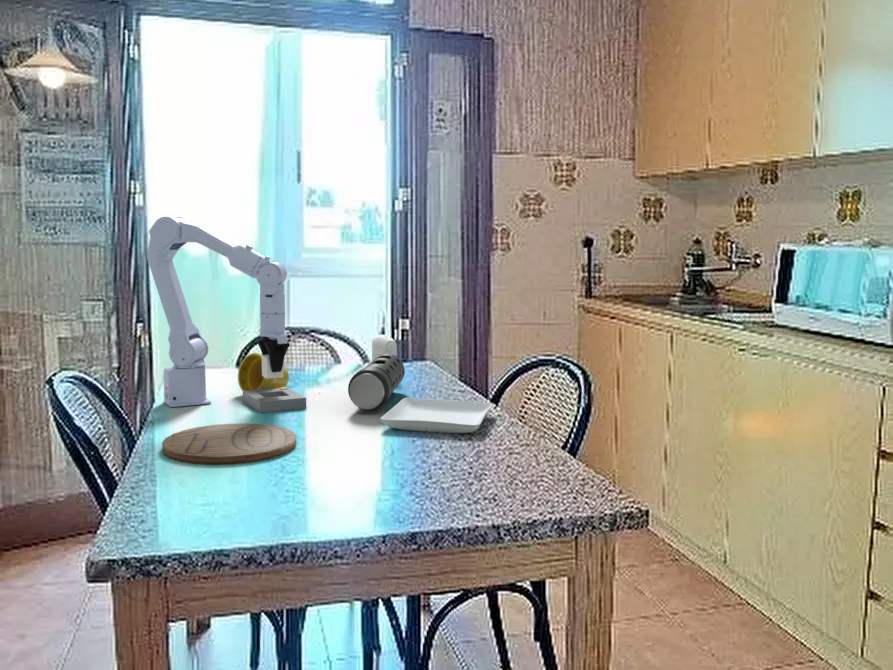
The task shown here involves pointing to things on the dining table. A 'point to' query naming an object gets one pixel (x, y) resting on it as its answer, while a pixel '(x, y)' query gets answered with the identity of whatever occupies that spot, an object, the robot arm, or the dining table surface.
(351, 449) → the dining table surface
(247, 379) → the plant pot
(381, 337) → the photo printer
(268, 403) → the socket plate
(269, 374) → the plug block
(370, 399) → the muzzle brake
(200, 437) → the trivet
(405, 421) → the salad plate
